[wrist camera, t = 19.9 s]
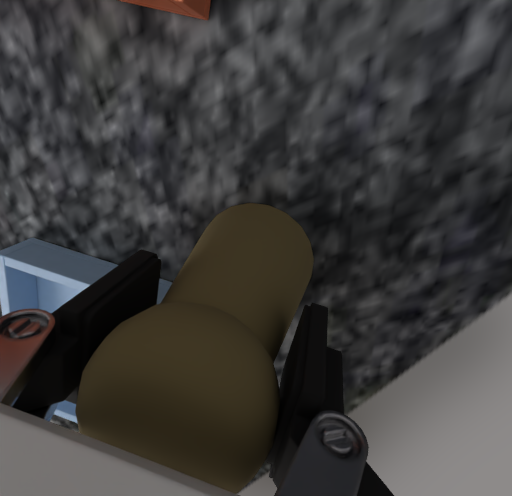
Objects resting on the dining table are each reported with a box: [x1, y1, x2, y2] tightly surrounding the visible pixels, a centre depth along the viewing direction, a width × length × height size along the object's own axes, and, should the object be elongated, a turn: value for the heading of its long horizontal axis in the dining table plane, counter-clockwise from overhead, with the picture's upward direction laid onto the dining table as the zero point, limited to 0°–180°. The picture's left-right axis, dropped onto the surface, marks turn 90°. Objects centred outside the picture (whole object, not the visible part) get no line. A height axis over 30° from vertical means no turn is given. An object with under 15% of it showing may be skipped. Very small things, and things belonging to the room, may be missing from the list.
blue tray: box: [0, 238, 173, 423], centre depth 20 cm, size 11×11×2 cm
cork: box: [75, 203, 314, 494], centre depth 12 cm, size 6×6×11 cm
